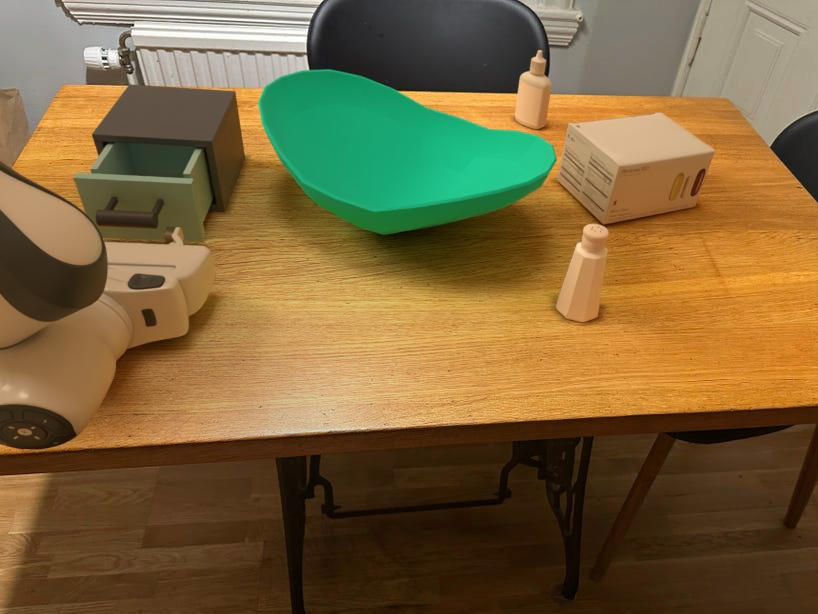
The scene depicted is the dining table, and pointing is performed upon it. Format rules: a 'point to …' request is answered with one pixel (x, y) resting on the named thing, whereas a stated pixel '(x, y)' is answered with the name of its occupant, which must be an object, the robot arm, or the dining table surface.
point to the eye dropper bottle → (533, 95)
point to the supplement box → (633, 166)
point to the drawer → (147, 191)
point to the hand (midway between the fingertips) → (132, 230)
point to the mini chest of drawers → (181, 128)
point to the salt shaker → (585, 276)
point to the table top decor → (394, 153)
